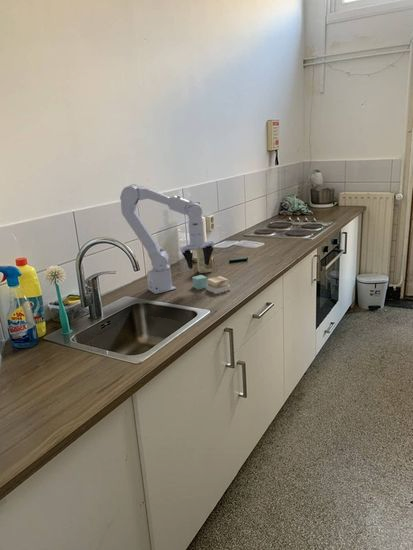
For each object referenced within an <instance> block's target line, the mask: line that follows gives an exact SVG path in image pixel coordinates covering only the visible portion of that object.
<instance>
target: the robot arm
mask: <svg viewBox="0 0 413 550" xmlns="http://www.w3.org/2000/svg"><path fill="white" fill-rule="evenodd" d="M119 199H120V205H121V206H120V207H121V214H122V216H123V217H124V219H125V221H126V222H127V224H128V225H129V227H130V228H131V229H132V231H133V232H134V234H135V235H136V237H137V238H138V240H139V241H140V243H141V245H142V246H144V248H145V250H146V251H147V255H148V258H149V259H150V261H151V266H152V269H151V270H148V271H147V273H146V279H147V287H148V288H147V290H149V292H151V293H152V294H155V295H156V294H160V293H161V294H162V293H165V292H169V291H173V290H174V291H175V290H176V289H177V287H176V286H173V283H172V272H171V265H170V264H169V262H170V254H169V252H168V251H167V250H165V249H163V247H162V246H161V245H160V244H158V242H157V241H156V239H155V238H154V236H153V235H152V234H151V232H150V230H149V229H148V227H147V226H146V225H145V223H144V221H143V220H142V219H141V217H140V215H139V214H138V213H137V211H136V210H137V205H138V203H139V201H143V200H151V201H153V202H157V203H160V204H163V205H165V206H167V207H168V208H169V210H170V211H173V212H176V213H178V214H182V215H184V216H185V215H187V217H188V223H187V225H188V233H189V234H188V235H189V244H187V245H184V246H180V247H179V251H180V253H181V254H182V256H183V257H184V259H185V261H186V263H187V266H188V269H189V270H193V256H194V255H193V252H191V251H194V250H195V251H197V249H201V248H202V249H203V253H204V262H205V264H206V265H209V261H210V257H211V254H212V255H213V251H214V247H215V242H214V241H212V240H211V241H210V240H208V241H205V238H204V237H205V235H204V234H205V233H204V221H203V216H202V214H203V207H202V205H201V204H200V203H198V202H197V201H193V200H191V199H189V200H188V199H185V198H183V197H182V196H181V195H180V194H178V195H173V196H169V195H165V194H164V193H161V192H158V191H156V190H153V189H151V188H149V187H145V186H142V185H138V184H135V183H134V184H133V183H132V184H130V185H128V186H126V187H124V188H123V189H122V191H121V193H120V197H119Z"/></svg>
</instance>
